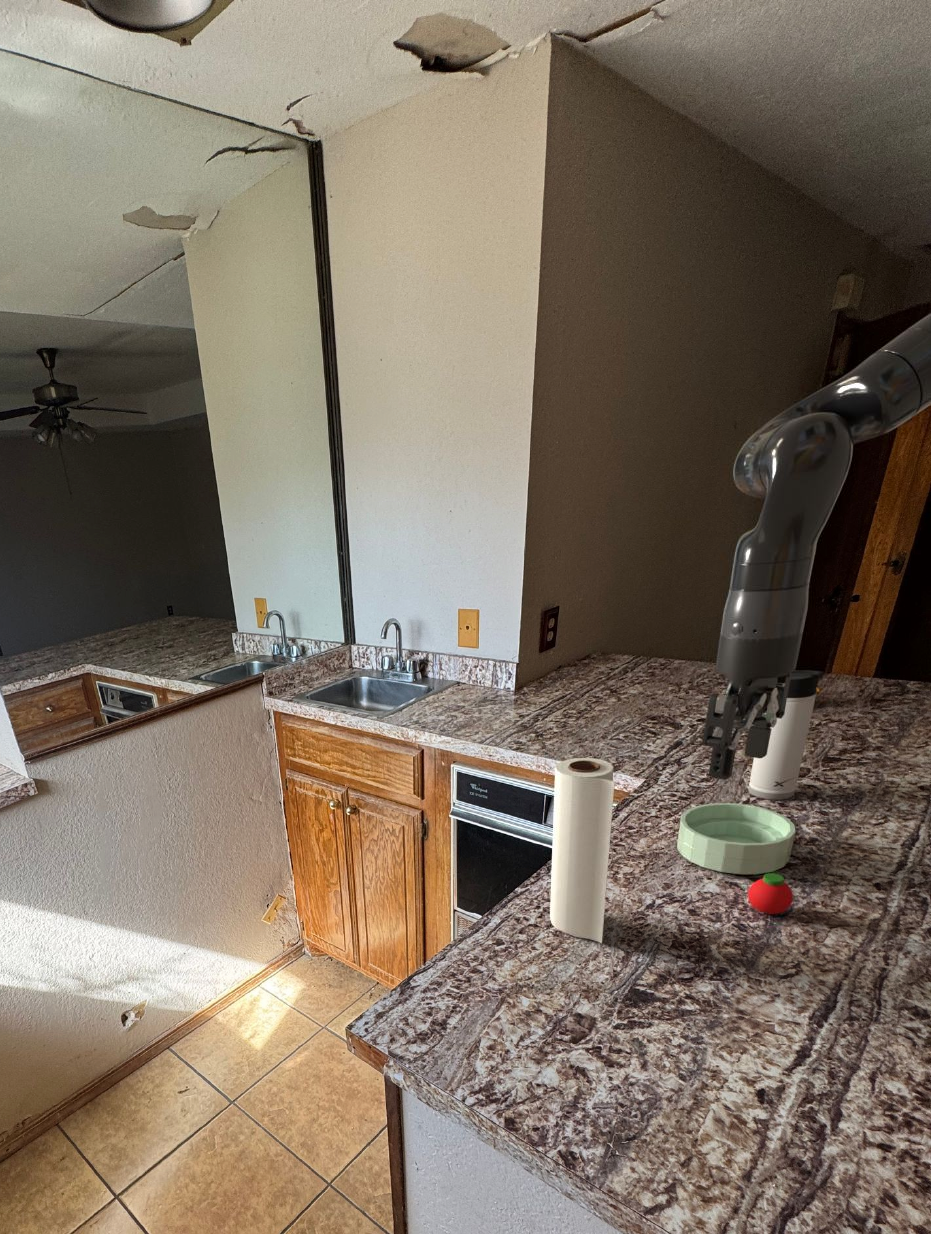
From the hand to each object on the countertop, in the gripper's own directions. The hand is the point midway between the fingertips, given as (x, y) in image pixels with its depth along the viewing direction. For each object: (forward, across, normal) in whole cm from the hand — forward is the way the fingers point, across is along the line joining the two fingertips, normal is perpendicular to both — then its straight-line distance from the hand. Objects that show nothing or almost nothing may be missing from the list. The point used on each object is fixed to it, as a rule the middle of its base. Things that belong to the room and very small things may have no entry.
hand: (737, 766), depth 78 cm
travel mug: (+17, +32, +7) cm, 37 cm away
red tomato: (+17, -2, -7) cm, 18 cm away
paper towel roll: (+17, -20, +7) cm, 27 cm away
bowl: (+17, +8, +2) cm, 19 cm away
